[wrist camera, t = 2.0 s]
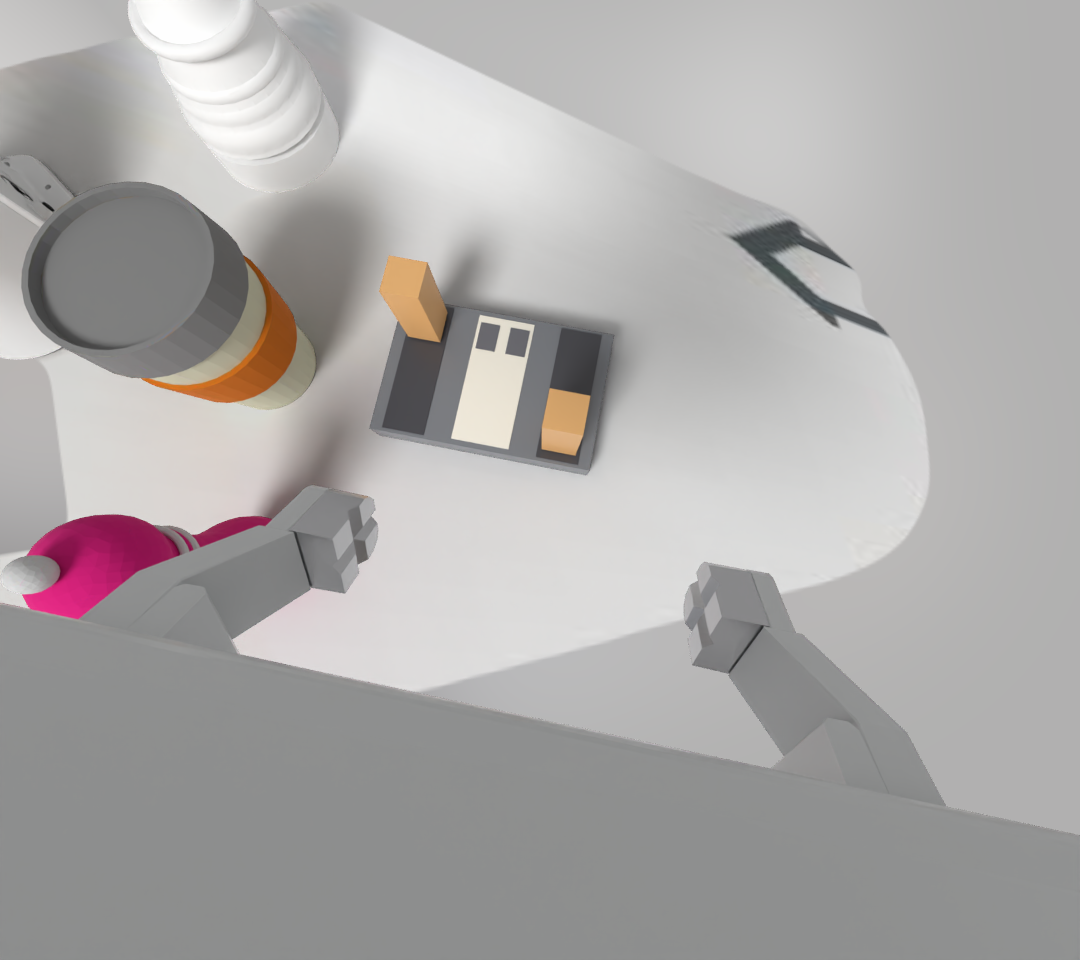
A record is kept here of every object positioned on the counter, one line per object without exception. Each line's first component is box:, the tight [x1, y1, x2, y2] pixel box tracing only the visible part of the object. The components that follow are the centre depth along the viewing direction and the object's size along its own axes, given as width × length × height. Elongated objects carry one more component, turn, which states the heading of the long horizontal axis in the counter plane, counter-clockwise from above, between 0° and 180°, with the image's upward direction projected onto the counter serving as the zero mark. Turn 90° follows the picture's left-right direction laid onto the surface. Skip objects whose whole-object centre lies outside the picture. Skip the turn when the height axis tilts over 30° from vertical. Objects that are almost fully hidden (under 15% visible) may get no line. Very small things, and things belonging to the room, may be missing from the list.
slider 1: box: [379, 256, 448, 342], centre depth 35 cm, size 3×3×7 cm
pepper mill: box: [0, 515, 272, 619], centre depth 28 cm, size 7×7×20 cm
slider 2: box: [542, 388, 590, 456], centre depth 34 cm, size 3×3×7 cm
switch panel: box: [370, 304, 614, 475], centre depth 39 cm, size 13×20×3 cm, turn 79°
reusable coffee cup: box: [21, 182, 316, 410], centre depth 34 cm, size 12×13×15 cm
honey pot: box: [128, 0, 340, 193], centre depth 36 cm, size 13×13×18 cm
